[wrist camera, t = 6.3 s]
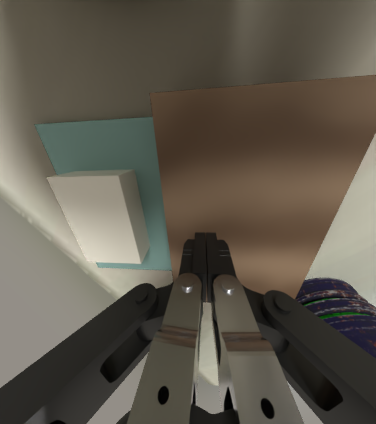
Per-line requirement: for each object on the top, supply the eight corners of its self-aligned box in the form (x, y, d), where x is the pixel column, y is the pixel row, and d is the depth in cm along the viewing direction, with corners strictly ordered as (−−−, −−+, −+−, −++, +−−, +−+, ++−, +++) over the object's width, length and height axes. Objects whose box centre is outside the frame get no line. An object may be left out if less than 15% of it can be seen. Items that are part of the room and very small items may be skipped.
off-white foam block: (118, 175, 10) (134, 169, 13) (46, 177, 11) (75, 171, 13) (141, 263, 14) (150, 245, 17) (87, 261, 15) (103, 244, 17)
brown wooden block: (166, 109, 11) (149, 92, 7) (331, 98, 10) (404, 72, 6) (180, 270, 19) (175, 300, 15) (272, 274, 18) (290, 307, 14)
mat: (40, 125, 12) (34, 124, 12) (161, 117, 11) (159, 116, 11) (100, 264, 20) (98, 267, 19) (176, 267, 19) (175, 270, 18)
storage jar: (288, 326, 23) (414, 592, 9) (264, 291, 19) (404, 620, 6) (362, 310, 19) (720, 681, 6) (348, 266, 16) (1035, 837, 3)
